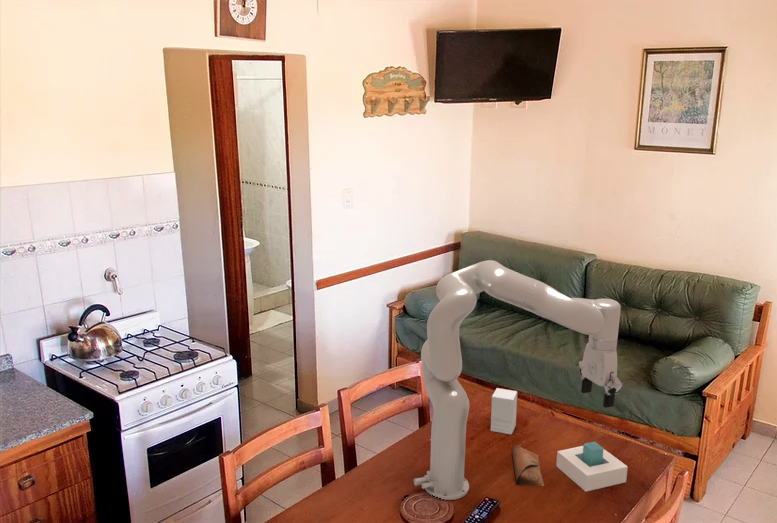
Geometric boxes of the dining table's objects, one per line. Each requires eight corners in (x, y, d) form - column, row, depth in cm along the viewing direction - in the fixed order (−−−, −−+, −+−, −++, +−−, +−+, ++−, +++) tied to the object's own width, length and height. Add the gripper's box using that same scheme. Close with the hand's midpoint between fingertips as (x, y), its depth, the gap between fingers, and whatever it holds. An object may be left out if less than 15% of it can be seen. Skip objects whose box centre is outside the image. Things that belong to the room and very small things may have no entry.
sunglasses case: (546, 487, 181) (535, 468, 180) (524, 496, 183) (513, 478, 182) (538, 453, 199) (528, 436, 198) (518, 463, 200) (508, 445, 199)
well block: (585, 491, 179) (587, 475, 178) (556, 466, 192) (557, 451, 191) (625, 482, 184) (627, 466, 183) (594, 457, 197) (596, 443, 196)
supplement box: (516, 425, 217) (518, 390, 214) (511, 435, 210) (513, 399, 207) (494, 421, 219) (496, 387, 216) (489, 431, 213) (491, 395, 210)
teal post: (589, 478, 186) (591, 450, 184) (581, 471, 190) (583, 443, 187) (600, 476, 187) (603, 448, 185) (592, 468, 191) (595, 441, 189)
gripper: (572, 334, 185) (567, 388, 189) (612, 355, 169) (606, 414, 173) (593, 331, 188) (588, 385, 192) (635, 352, 172) (628, 410, 176)
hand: (596, 399), depth 183 cm, fingers open, 9 cm apart
